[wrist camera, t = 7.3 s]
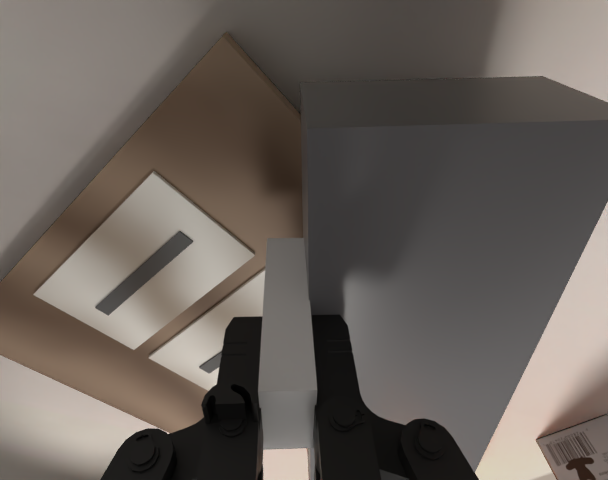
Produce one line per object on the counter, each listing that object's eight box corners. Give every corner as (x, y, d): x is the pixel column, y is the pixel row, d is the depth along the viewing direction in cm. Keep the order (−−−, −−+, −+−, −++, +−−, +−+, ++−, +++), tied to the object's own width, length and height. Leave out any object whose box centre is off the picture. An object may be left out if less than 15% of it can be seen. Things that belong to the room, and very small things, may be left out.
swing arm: (307, 468, 27) (311, 546, 24) (299, 82, 13) (307, 128, 9) (420, 462, 27) (441, 539, 24) (542, 76, 13) (648, 118, 9)
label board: (267, 462, 33) (265, 504, 31) (-32, 317, 22) (-74, 363, 20) (504, 342, 26) (529, 384, 23) (226, 31, 15) (213, 44, 12)
